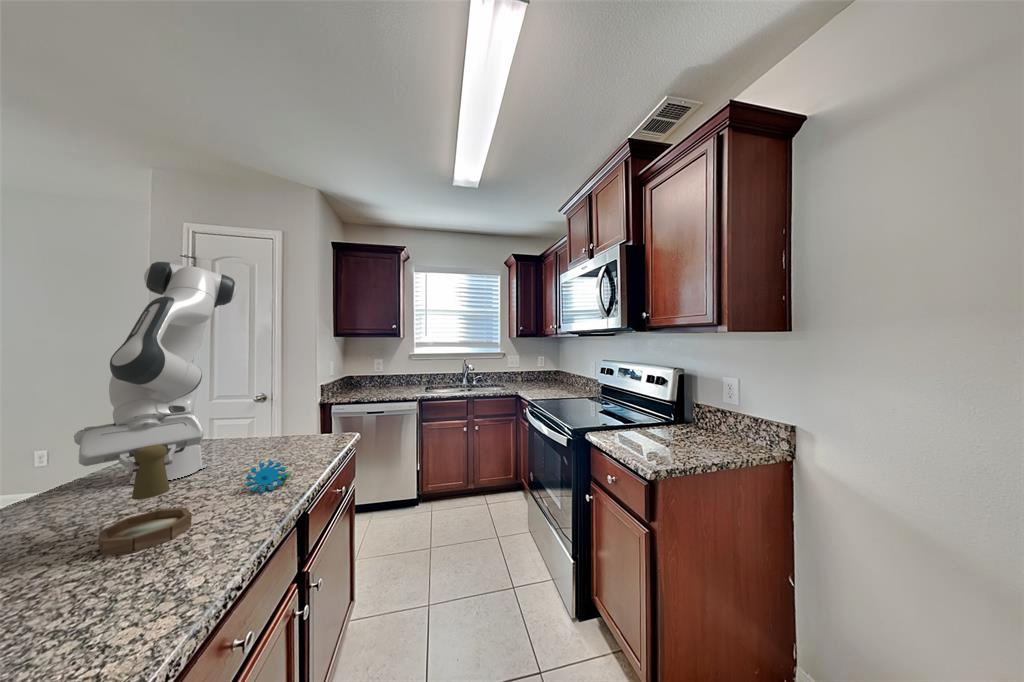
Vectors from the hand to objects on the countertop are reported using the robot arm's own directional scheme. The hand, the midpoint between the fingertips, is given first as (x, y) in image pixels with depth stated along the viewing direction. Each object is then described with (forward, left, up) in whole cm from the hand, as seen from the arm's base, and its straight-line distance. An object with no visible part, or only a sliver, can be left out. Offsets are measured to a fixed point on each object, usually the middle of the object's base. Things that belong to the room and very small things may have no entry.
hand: (151, 467), depth 79 cm
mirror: (-1, -1, -16) cm, 16 cm away
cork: (0, 0, -6) cm, 6 cm away
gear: (-8, +26, -16) cm, 32 cm away
